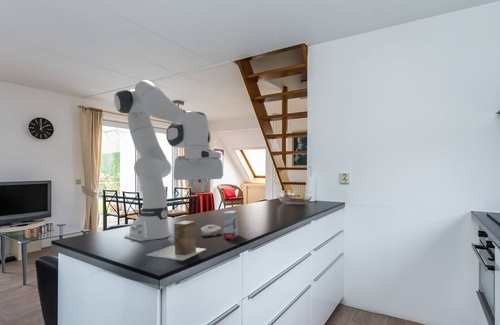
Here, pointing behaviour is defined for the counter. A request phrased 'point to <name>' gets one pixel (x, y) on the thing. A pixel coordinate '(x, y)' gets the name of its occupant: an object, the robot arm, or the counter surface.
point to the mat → (173, 253)
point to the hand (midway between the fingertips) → (197, 192)
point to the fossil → (210, 230)
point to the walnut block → (185, 237)
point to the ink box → (230, 224)
